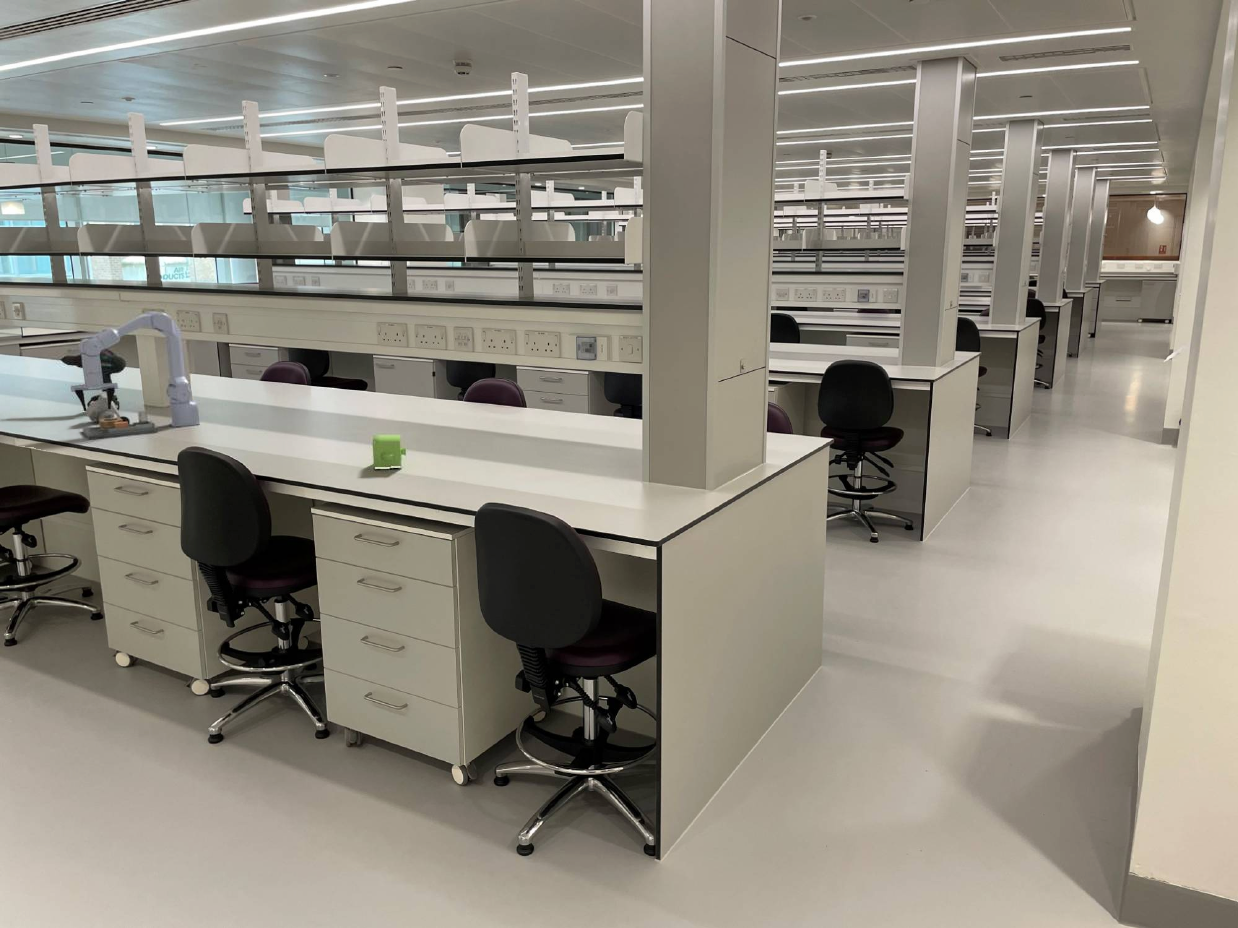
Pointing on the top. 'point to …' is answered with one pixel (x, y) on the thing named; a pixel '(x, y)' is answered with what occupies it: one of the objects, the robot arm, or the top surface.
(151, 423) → the slate board
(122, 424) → the orange rectangular block
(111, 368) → the power drill
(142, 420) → the cylinder
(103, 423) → the frame
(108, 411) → the mechanical valve
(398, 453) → the gearbox
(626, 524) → the top surface
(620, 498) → the top surface
